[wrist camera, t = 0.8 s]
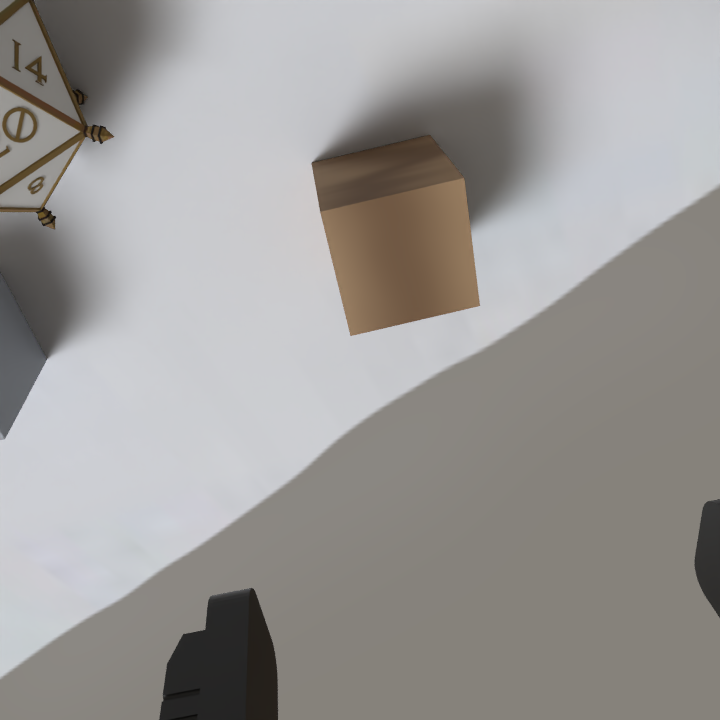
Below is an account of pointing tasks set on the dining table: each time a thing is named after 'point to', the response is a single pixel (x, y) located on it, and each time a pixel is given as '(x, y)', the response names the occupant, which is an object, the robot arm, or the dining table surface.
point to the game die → (35, 113)
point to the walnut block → (397, 233)
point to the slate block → (15, 359)
